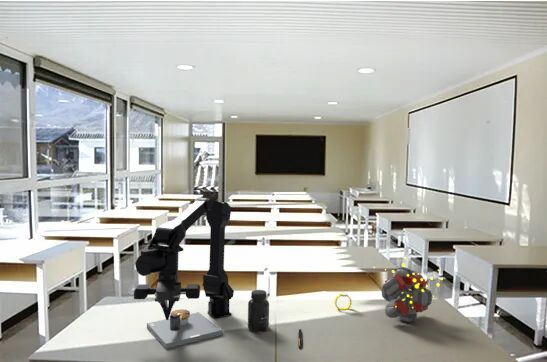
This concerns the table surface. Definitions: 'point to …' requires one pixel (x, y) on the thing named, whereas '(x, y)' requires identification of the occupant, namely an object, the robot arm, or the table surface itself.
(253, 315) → the supplement bottle
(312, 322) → the table surface
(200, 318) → the base
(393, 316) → the molecule model
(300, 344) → the fountain pen
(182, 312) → the crank handle
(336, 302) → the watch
